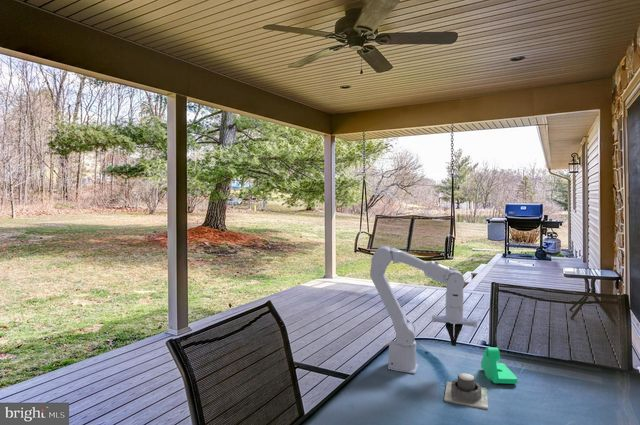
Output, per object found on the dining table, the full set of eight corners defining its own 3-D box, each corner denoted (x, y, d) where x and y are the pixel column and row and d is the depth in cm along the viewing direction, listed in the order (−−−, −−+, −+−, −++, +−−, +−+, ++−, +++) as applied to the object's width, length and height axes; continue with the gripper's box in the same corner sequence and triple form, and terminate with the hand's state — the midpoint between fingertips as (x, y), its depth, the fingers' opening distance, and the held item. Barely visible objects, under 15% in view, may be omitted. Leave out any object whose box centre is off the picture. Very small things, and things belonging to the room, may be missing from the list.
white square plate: (444, 401, 115) (444, 391, 115) (446, 383, 126) (447, 373, 126) (488, 409, 111) (488, 398, 111) (487, 390, 122) (487, 380, 122)
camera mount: (518, 387, 124) (518, 355, 124) (493, 386, 125) (494, 354, 124) (503, 370, 136) (503, 341, 136) (480, 369, 137) (481, 341, 136)
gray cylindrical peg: (457, 395, 117) (457, 378, 117) (457, 388, 122) (457, 371, 122) (475, 399, 115) (475, 381, 115) (474, 391, 120) (475, 374, 120)
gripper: (431, 306, 132) (430, 345, 132) (477, 311, 126) (476, 352, 127) (433, 301, 138) (432, 338, 139) (477, 305, 133) (476, 344, 133)
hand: (453, 344), depth 133 cm, fingers closed
